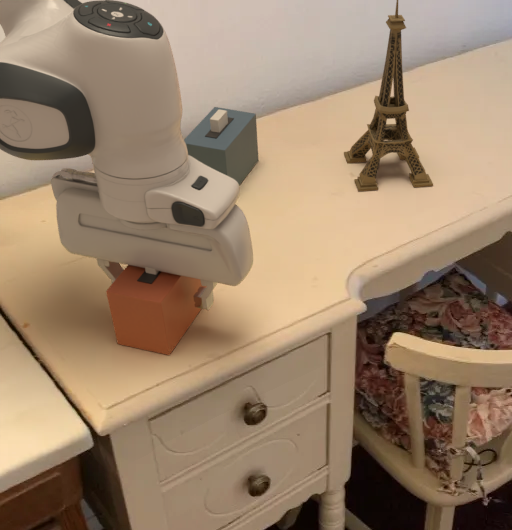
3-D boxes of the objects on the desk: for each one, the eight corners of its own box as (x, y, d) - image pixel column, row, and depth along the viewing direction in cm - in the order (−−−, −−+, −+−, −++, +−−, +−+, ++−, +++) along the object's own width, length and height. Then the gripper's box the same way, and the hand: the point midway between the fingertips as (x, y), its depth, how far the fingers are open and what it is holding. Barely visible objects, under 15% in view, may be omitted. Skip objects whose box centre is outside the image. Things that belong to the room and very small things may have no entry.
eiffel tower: (414, 149, 123) (429, -33, 105) (432, 186, 115) (452, -4, 98) (343, 153, 121) (347, -32, 103) (358, 191, 113) (364, -2, 96)
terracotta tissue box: (169, 355, 88) (158, 288, 82) (117, 344, 89) (102, 276, 82) (211, 295, 95) (203, 229, 89) (162, 285, 96) (151, 219, 90)
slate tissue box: (229, 199, 110) (223, 137, 104) (187, 191, 111) (179, 129, 105) (258, 160, 118) (255, 100, 112) (219, 153, 119) (213, 93, 113)
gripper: (30, 180, 80) (61, 295, 90) (230, 218, 77) (240, 333, 87) (64, 150, 84) (90, 263, 94) (254, 185, 81) (261, 298, 91)
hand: (163, 297), depth 90 cm, fingers open, 8 cm apart
